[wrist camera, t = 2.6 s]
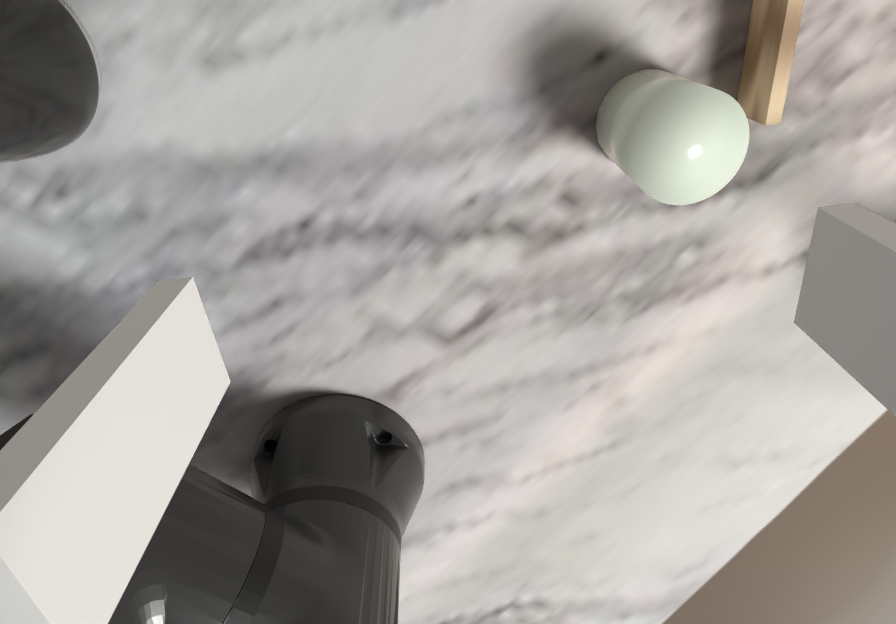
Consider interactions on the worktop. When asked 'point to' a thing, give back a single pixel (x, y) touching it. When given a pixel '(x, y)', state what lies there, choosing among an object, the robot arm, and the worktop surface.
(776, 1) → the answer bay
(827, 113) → the worktop surface
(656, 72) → the green jar
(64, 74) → the pump dispenser
